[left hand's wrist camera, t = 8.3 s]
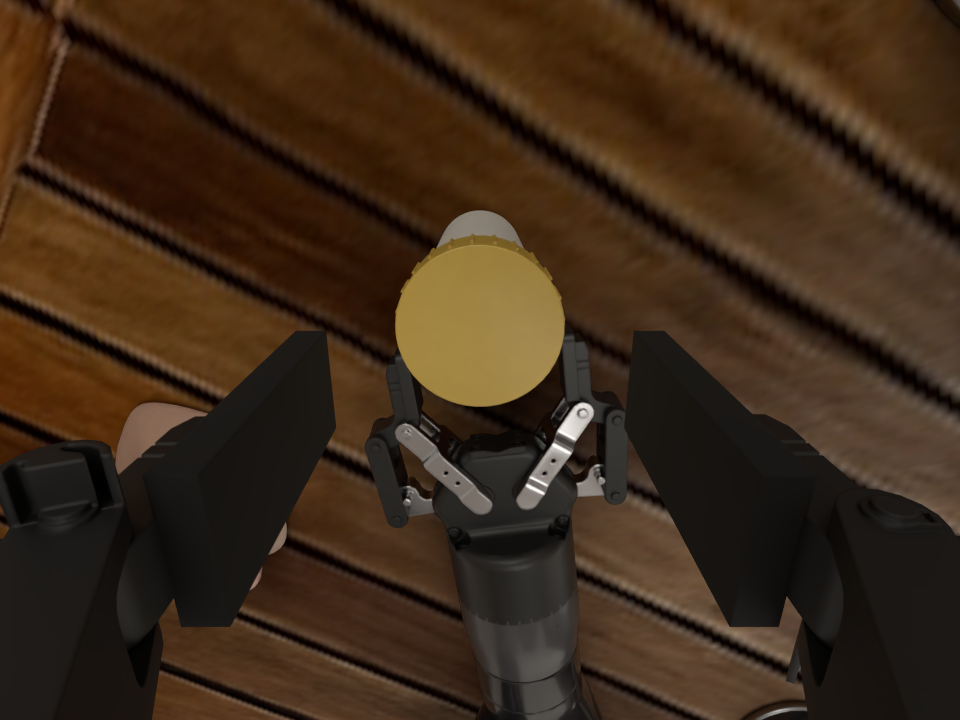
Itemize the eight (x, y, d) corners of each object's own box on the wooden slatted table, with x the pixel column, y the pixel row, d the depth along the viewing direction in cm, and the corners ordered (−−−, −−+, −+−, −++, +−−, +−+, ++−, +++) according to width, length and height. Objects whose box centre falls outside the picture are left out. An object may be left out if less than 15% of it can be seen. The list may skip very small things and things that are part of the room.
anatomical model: (55, 428, 32) (248, 432, 32) (99, 400, 36) (272, 404, 36) (104, 600, 37) (273, 603, 37) (139, 560, 41) (291, 563, 41)
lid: (425, 211, 19) (418, 218, 17) (580, 261, 19) (592, 273, 17) (385, 360, 21) (375, 382, 19) (527, 400, 21) (532, 426, 19)
